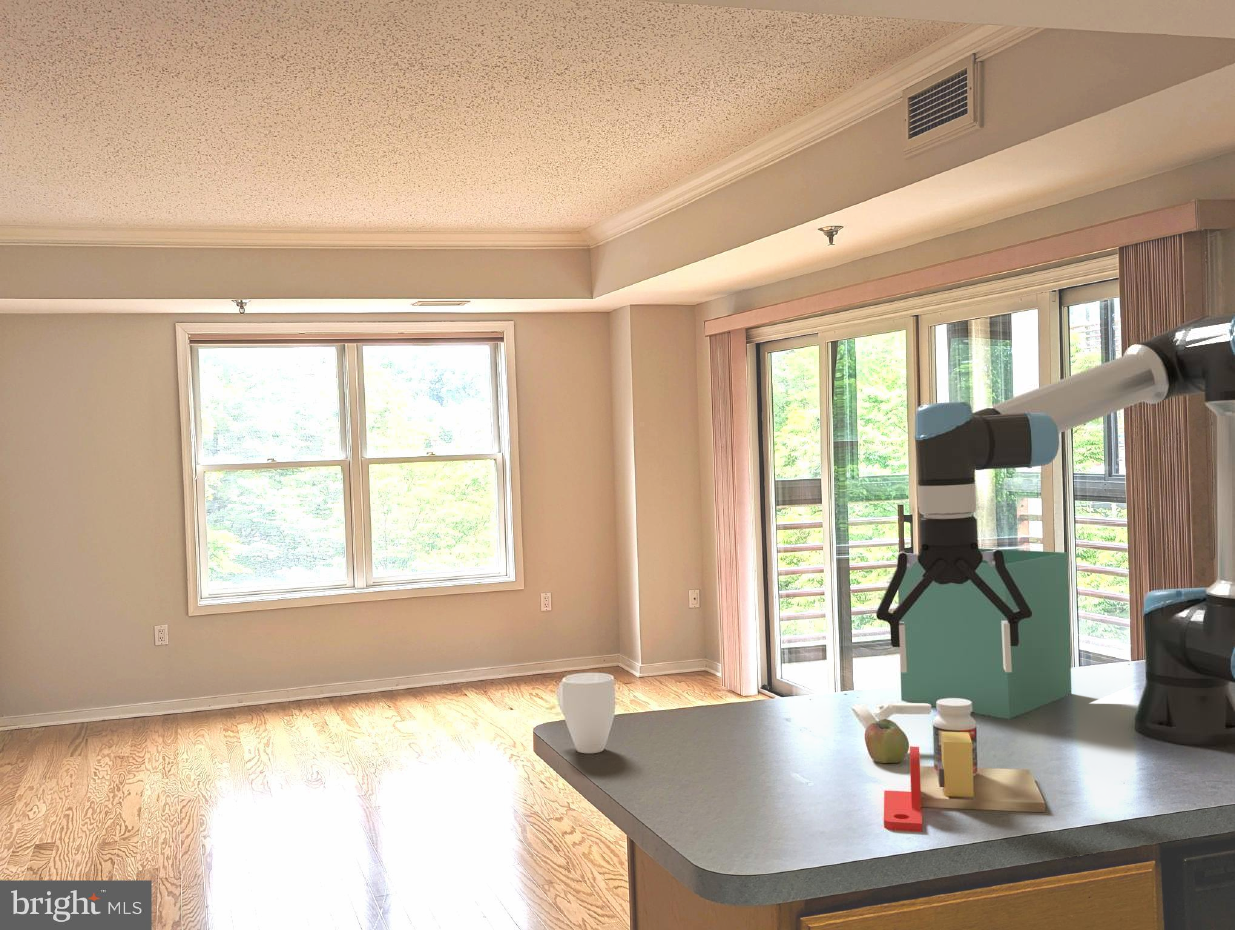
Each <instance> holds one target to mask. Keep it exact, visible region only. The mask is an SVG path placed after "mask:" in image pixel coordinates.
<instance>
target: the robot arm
mask: <svg viewBox="0 0 1235 930" xmlns="http://www.w3.org/2000/svg"><path fill="white" fill-rule="evenodd" d="M1193 395H1204V405H1205V406H1206V407H1207V408H1208V409H1209V410H1211V412H1213V413H1214V414H1215V416H1216V446H1217V447H1216V449H1217V450H1216V457H1217V458H1216V459H1217V460H1216V469H1217V470H1216V473H1217V474H1216V476H1217V477H1216V479H1217V482H1216V483H1217V486H1216V487H1217V496H1216V498H1217V499H1216V500H1217V503H1216V505H1217V512H1216V513H1217V516H1216V517H1217V579H1216V581H1215V582H1214V583H1212V584H1211V585H1210V586H1209V587H1189V588H1188V587H1187V588H1186V587H1185V588H1169V589H1168V588H1166V589H1154V590H1151V591H1149V592H1147V594H1146V595H1145V596H1144V599H1143V612H1142V618H1143V638H1144V640H1143V641H1144V666H1145V667H1144V669H1145V685H1144V688H1143V690H1142V693H1141V696H1140V699H1139V703H1138V706H1137V708H1136V711H1135V715H1134V730H1135V731H1136V732H1137V733H1138V734H1139V735H1140V736H1143V737H1144V738H1145V737H1146V738H1149V739H1152V740H1154V741H1155V740H1156V741H1160V742H1165V743H1169V744H1175V745H1184V746H1196V747H1197V746H1198V747H1221V746H1222V747H1223V746H1229V745H1230V746H1231V745H1234V744H1235V699H1234V696H1233V693H1232V691H1231V686H1230V685H1231V684H1230V683H1234V684H1235V311H1229V312H1225V313H1220V314H1214V315H1210V316H1209V315H1208V316H1202V317H1198V318H1194V319H1191V320H1189V321H1186V322H1184V323H1181V324H1180V325H1178V326H1175V327H1173V328H1171V329H1169V330H1167V331H1163V332H1161V333H1159V334H1157V335H1155V336H1153V337H1150V338H1149V339H1148V338H1147V339H1145V340H1144V341H1141V342H1138V343H1136V344H1133V345H1131V346H1129V347H1128V348H1127V349H1126V350H1125V351H1124V353H1123V356H1120V357H1118V358H1115V359H1113V360H1110V361H1107V362H1104V363H1102V364H1099V365H1096V366H1094V367H1092V368H1088V369H1086V370H1083V371H1081V372H1077V373H1076V374H1072V375H1070V376H1067V377H1064V378H1061V379H1059V380H1057V381H1054V382H1052V383H1048V384H1046V385H1043V386H1041V387H1038V388H1035V389H1033V390H1030V391H1027V392H1025V393H1022V394H1020V395H1017V396H1014V397H1012V398H1009V399H1006V400H1004V401H1001V402H997V403H995V404H993V405H990V406H988V407H987V408H983V409H980V410H977V411H974V412H973V409H972V405H971V404H970V403H969V402H968V401H953V402H952V401H949V402H936V403H935V402H933V403H925V404H922V405H920V406H918V407H917V408H916V411H915V416H914V417H915V419H914V436H913V440H914V441H915V453H916V472H917V497H918V499H917V501H918V513H920V514H921V515H923V517H921V518H920V520H919V540H920V550H919V552H918V553H910V552H909V553H907V552H906V551H904V550H903V551H902V550H901V551H899V552H898V554H897V558H898V561H897V560H896V562H897V564H896V565H897V566H896V568H895V571H894V572H893V575H892V577H891V580H890V581H889V584H888V585H887V588H886V591H885V592H884V594H883V597H882V599H881V601H880V603H879V605H878V608H877V609H876V613H875V614H876V615H875V616H876V618H877V620H878V621H884V622H887V624H889V630H890V632H889V633H890V644H891V647H892V648H899V663H901V671H900V674H901V673H907V664H906V644H905V625H904V622H899V621H900V620H901V619H902V618H903V616H904V615H905V614H906V613H907V612H908V610H909V609H910V608H911V607H912V606H913V604H914V603H915V602H916V601H917V599H918V598H919V597H920V596H921V595H922V593H923V592H924V591H925V590H926V588H928V587H929V585H930V584H931V583H932V582H933V581H934V582H936V583H938V584H940V585H942V584H949V583H955V584H963V583H965V582H967V581H968V580H969V579H970V580H971V582H972V583H973V584H974V585H975V586H976V587H977V588H978V589H979V590H980V591H981V592H982V593H983V594H984V595H985V596H986V597H987V598H988V599H989V600H990V601H991V602H992V603H993V604H994V605H995V606H996V607H997V609H998V610H999V611H1000V612H1001V613H1002V614H1003V615H1004V616H1005V617H1006V618H1007V621H1001V626H1002V647H1003V668H1004V670H1005V672H1012V666H1011V646H1018V643H1019V634H1018V623H1019V621H1020V620H1022V619H1025V618H1030V617H1031V616H1032V611H1031V610H1030V608H1029V606H1028V605H1027V603H1026V601H1025V599H1024V598H1023V596H1022V594H1021V593H1020V591H1019V589H1018V587H1017V586H1016V584H1015V582H1014V581H1013V579H1012V577H1011V575H1010V574H1009V572H1008V570H1007V569H1006V567H1005V562H1004V556H1003V552H1002V551H1001V550H999V548H993V549H994V550H993V551H986V552H980V550H979V540H978V539H979V537H978V519H977V518H976V517H975V516H974V515H973V514H975V512H976V511H977V495H976V479H975V478H976V471H983V470H999V469H1000V470H1001V469H1003V470H1004V469H1020V468H1021V469H1022V468H1023V469H1024V468H1027V469H1032V468H1034V467H1042V466H1043V467H1044V466H1047V465H1049V464H1052V463H1053V461H1054V460H1055V458H1056V457H1057V455H1058V452H1059V448H1060V437H1059V436H1060V433H1063V432H1066V431H1069V430H1072V429H1074V428H1076V427H1080V426H1082V425H1085V424H1087V423H1090V422H1092V421H1095V420H1098V419H1100V418H1103V417H1105V416H1108V415H1111V414H1113V413H1116V412H1118V411H1120V410H1123V409H1126V408H1129V407H1131V406H1134V405H1137V404H1139V403H1142V402H1143V403H1146V404H1151V405H1152V404H1153V405H1155V404H1158V403H1161V402H1163V401H1166V400H1169V399H1172V398H1179V397H1185V396H1193ZM982 560H986V561H987V562H988V564H989V565H990V566H992V567H995V569H996V571H997V573H998V574H999V576H1000V578H1001V580H1002V581H1003V583H1004V585H1005V586H1006V588H1007V590H1008V592H1009V593H1010V595H1011V597H1012V598H1013V600H1014V602H1015V604H1016V605H1017V607H1018V609H1017V610H1015V611H1012V610H1011V608H1010V607H1009V606H1008V605H1007V604H1006V603H1005V602H1004V601H1003V600H1002V599H1001V598H1000V597H999V596H998V595H997V594H996V593H995V592H994V591H993V590H992V589H991V588H990V587H989V586H988V585H987V583H986V582H985V581H984V580H983V579H982V578H981V577H980V576H979V575H978V574H977V573H976V572H975V571H976V569H977V568H978V566H979V565H980V564H981V562H982ZM915 562H919V564H920V565H921V566H922V568H923V569H924V570H925V573H924V574H923V575H922V576H921V578H920V579H919V581H918V582H917V583H916V584H915V586H914V587H913V588H912V589H911V590H910V592H909V593H908V594H907V595H906V597H905V598H904V599H903V600H902V601H901V603H900V604H899V603H898V605H897V606H896V608H894V610H893V611H892V612H891V611H889V610H890V608H891V605H892V603H893V601H894V599H895V597H896V594H898V588H899V586H900V584H901V582H902V580H903V578H904V575H905V573H906V569H910V568H911V567H912V566H913V564H914V563H915Z"/></svg>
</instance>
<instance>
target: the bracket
mask: <svg viewBox="0 0 1235 930" xmlns="http://www.w3.org/2000/svg"><path fill="white" fill-rule="evenodd" d="M920 759H921V757H920V747H919V746H910V745H909V767H910V769H909V772H910V773H909V776H910V791H908V790H907V791H904V790H901V791H900V790H884V793H883V828H884V829H885V830H888V831H899V832H900V831H901V832H913V833H914V832H918V833H923V817H922V807H921V786H920V766H921V763H920V762H921V760H920Z"/></svg>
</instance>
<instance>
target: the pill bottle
mask: <svg viewBox="0 0 1235 930" xmlns="http://www.w3.org/2000/svg"><path fill="white" fill-rule="evenodd" d="M936 704H937V706H936V711H937V712H938V714H937V715H935V717H934V718H933V722H932V731H933V733H932V735H933V740H932V741H933V766H934V770H935V772H936V773H937V774H938V762H942V750H941V732H969V735H970V738H971V741H972V757H973V777H974V776H976V774H977V770H978V768H979V767H978V744H977V743H978V740H977V734H978V733H977V722H976V720H975V718H973V717H972V716H971V712H972V711H973V710H972V702H971V701H969V700H966V699H960V698H946V699H940V700H938V701H937V702H936Z"/></svg>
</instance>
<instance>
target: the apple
mask: <svg viewBox="0 0 1235 930" xmlns="http://www.w3.org/2000/svg"><path fill="white" fill-rule="evenodd" d="M864 742H865V746H866V750H867V752H868V755H869V757H870V758H871V759H872V761H874V762H876V763H881V764H885V763H886V764H888V763H889V764H890V763H892V764H898V763H901V762H902V761H903V760H904V759H905V757H906V756H907V754H908V753H909V751H910V742H909V739H908V736H907V735H906V733H905V732H904V730H903V729H901V727H900V726H899V725H898V724H897V723H896V722H895V721H893V720H891V719H889V718H888V719H883V720H877V721H876V722H875V723H872V724H870V725H869V726H868V727H867V728H866V729H865V730H864Z"/></svg>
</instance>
